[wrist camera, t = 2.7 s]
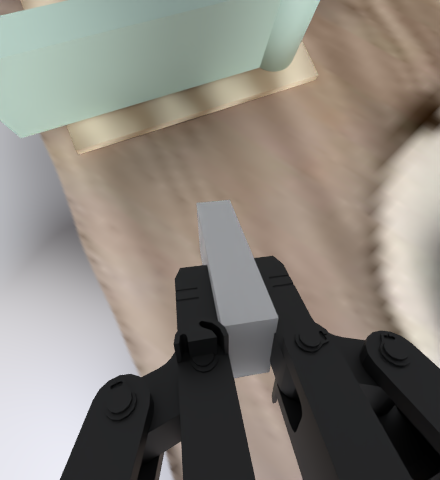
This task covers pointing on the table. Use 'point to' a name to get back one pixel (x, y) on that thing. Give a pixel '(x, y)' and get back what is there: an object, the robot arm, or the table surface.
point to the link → (134, 53)
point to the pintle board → (183, 101)
